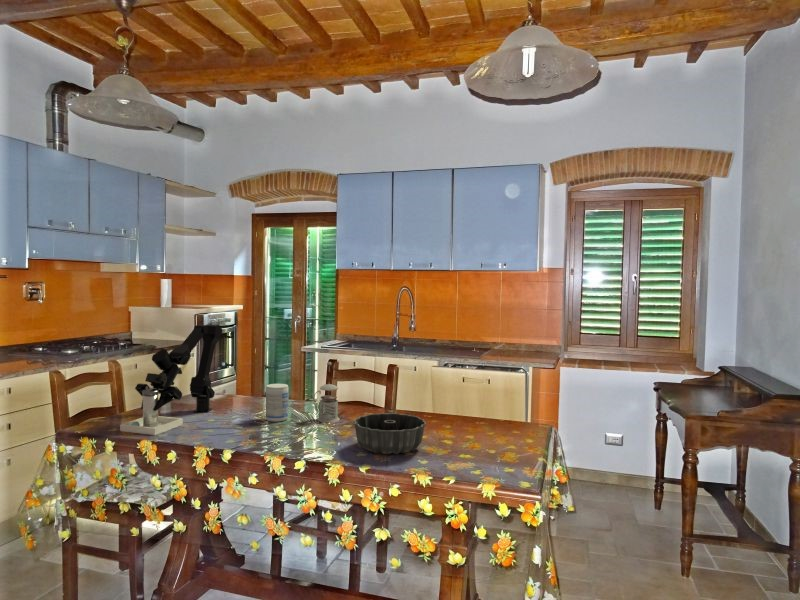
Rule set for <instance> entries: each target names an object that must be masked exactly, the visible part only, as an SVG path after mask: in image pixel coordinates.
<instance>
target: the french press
mask: <svg viewBox="0 0 800 600" xmlns="http://www.w3.org/2000/svg"><path fill="white" fill-rule="evenodd" d="M326 365H328V371H330V367H331V366H332V362H331V361H328V362H327V363H326ZM319 389H320V390H317V391H316V392H314V395H313V397H312V403H313V405H314V406H315V407H316V408H317V409H318V418H316V419H317V421H318V422H321V423H336V422H339V421H340V420H341V419H340V417H339V416H338V412H339V411H338V408H339V407H338V406H339V405H338V402H339V400H338V399H337V398H338V396H337V395H330V394H328V395H322V396H320V400H319V405H317V404H316V402H315V396H316V394H318V393H319V395H321V391H328V392H332V391H337V390H339V387H338V385H334V384H330V383H326V384H323V385H321V386H320V387H319Z"/></svg>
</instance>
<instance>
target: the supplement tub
mask: <svg viewBox="0 0 800 600" xmlns="http://www.w3.org/2000/svg"><path fill="white" fill-rule="evenodd" d="M288 419H289V385H288V384H286V383H270V384H267V385H266V386H265V420H266V421H268V422H273V423H274V422H276V423H277V422H284V421H287V420H288Z"/></svg>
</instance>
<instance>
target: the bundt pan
mask: <svg viewBox="0 0 800 600" xmlns="http://www.w3.org/2000/svg"><path fill="white" fill-rule="evenodd" d="M426 425H427V423H426V421H425V419H423V418H420V417H419V416H416V415H411V414H410V415H409V414H405V413H404V414H402V413H395V412H391V413H390V412H389V413H383V412H382V413H369V414H365V415H360V416H358V418H355V419H353V426H354V427H355V434H356V441H357V443H358V445H359V447H361V448H363V449H365V450H366V451H369V452H373V453H375V454H380V453H382V454H383V455H390V454H394V455H398V454H399V453H401V454H405V453H409V452H413V451H415V450H416V449H418V447H419V446H420V445H421V443H422V441H423V436H424V431H425V426H426Z"/></svg>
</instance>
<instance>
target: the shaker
mask: <svg viewBox="0 0 800 600" xmlns="http://www.w3.org/2000/svg"><path fill="white" fill-rule="evenodd" d="M142 395H143V396H142V400H143V410H142V417H143V427H156V426H158V416H159V409H158V410H156V411H154V407H155V405H156V403H157V401H158V400H159V395H160V394H159V390H158V389H145V390H143V391H142Z"/></svg>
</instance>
